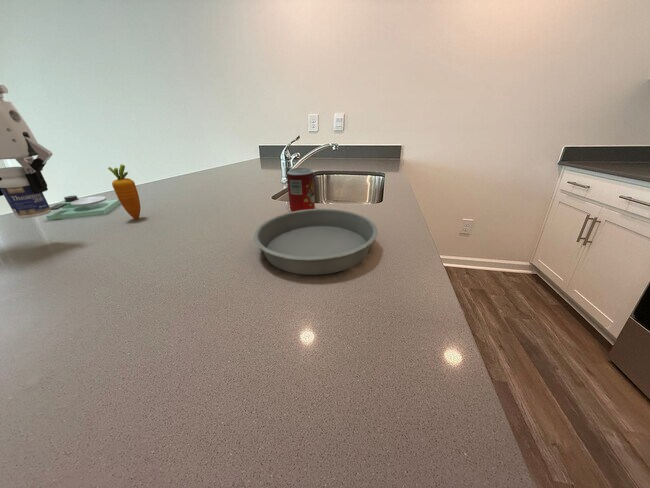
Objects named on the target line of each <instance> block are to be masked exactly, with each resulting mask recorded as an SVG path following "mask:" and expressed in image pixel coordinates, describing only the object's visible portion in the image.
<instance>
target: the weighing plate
mask: <svg viewBox="0 0 650 488" xmlns="http://www.w3.org/2000/svg"><path fill="white" fill-rule="evenodd" d="M82 198H83V199H79V200H75V201H73V202H71V205H72V206H86V205H92V204H97V203H100V202H103V201H106V200H107V198H106V196H103V195H101V196H100V195H98V196H97V195H96V196H90V197H89V196H88V197H82Z"/></svg>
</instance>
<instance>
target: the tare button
mask: <svg viewBox="0 0 650 488" xmlns="http://www.w3.org/2000/svg"><path fill="white" fill-rule="evenodd" d="M78 198H79V197H78V196H77V195H68V196H64V197H63V199H64V200H65V201H66V202H73V201H75V200H78Z"/></svg>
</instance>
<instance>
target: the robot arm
mask: <svg viewBox="0 0 650 488" xmlns="http://www.w3.org/2000/svg"><path fill="white" fill-rule="evenodd" d="M4 94H7V95H8V94H9V90H8V88H7V86H5V85H4V84H0V160H15V161H16V162H17V163H18V164H19V165H20V167H23V168H24V169H25V170H26V171H27V172H28V174H25V176H26V178H27V180H28V182H29V184H30V186H31V188H32V190H33V192H34V193H36V194H37V193H44V192H47V191H48V190H49V189H48V183H47V181H46V180H45V177H44V175H43V173H42V172H43V171H44V167H45V166H46V164H47V162H48V161H49V160H50V158H51V157H52V156H53V152H52V151H51V150H49V149H48V148H46V147H44V146H43V145H41V144H40V143H39V142H38V140H37V139H36V137H35V134H34V133H33V132H32V129H31V128H30V126H29V125H28V123H27V122H26V120H25V119H24V117H23V116H22V114H21V113H20V112H19V110H18V109H17V107H16V106H15V105H14V103H13V102H12V101H6V100H5V97H4ZM35 156H36V157H35ZM34 157H35V158H34ZM1 180H2V178H1V177H0V181H1ZM2 196H4V195H3V193H2V191H1V189H0V197H2Z"/></svg>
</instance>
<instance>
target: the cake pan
mask: <svg viewBox="0 0 650 488" xmlns="http://www.w3.org/2000/svg"><path fill="white" fill-rule="evenodd" d="M378 234H379V233H378V228H377V225H376V224H375V223H374V222H373V221H372V220H371V219H370V218H368V217H365V216H364V215H361V214H359V213H356V212H352V211H347V210H343V209H335V208H314V209H308V210H299V211H294V212H292V211H289V212H286V213H282V214H279V215H276V216H274V217H271V218H269V219H267V220H266V221H264V222H262V223H261V224H260V225H259V226H258V227H257V228H256V229H255V230H254V233H253V238H252V239H253V242H254V244H255V245H256V247H258V249H260V250H261V251H263V253H264V256H265V257H266V260H267V261H268V262H269V263H270V264H271V265H272V266H274V267H276V268H277V269H279V270H281V271H284V272H287V273H290V274H291V273H292V274H297V275H305V276H321V275H328V274H329V275H330V274H334V273H339V272H342V271H346V270H348V269H350V268H353V267H355V266H357V265H358V264H359V263H361V262H362V261H363V260H364V259H365V258H366V256H367V255H368V252H369V249H370V246H371V245H372V244H373V243H374V242H375V240H376V239H377V237H378Z"/></svg>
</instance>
